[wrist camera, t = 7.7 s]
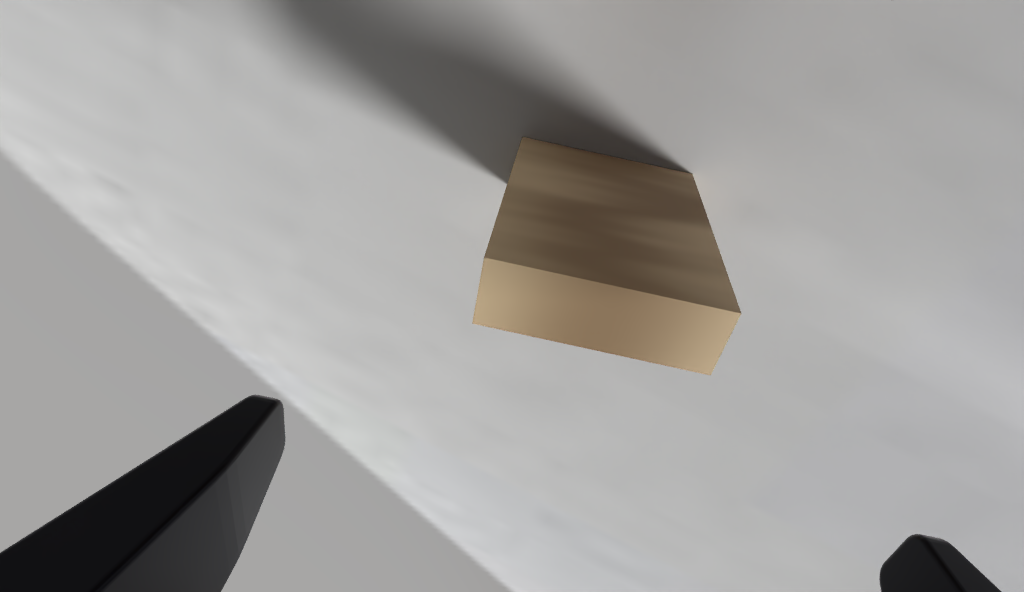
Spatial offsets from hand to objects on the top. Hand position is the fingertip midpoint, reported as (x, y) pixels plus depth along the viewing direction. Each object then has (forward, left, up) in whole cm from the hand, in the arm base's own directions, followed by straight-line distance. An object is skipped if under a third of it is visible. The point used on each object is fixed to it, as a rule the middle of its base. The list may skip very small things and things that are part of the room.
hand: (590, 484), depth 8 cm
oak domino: (0, 0, -11) cm, 11 cm away
